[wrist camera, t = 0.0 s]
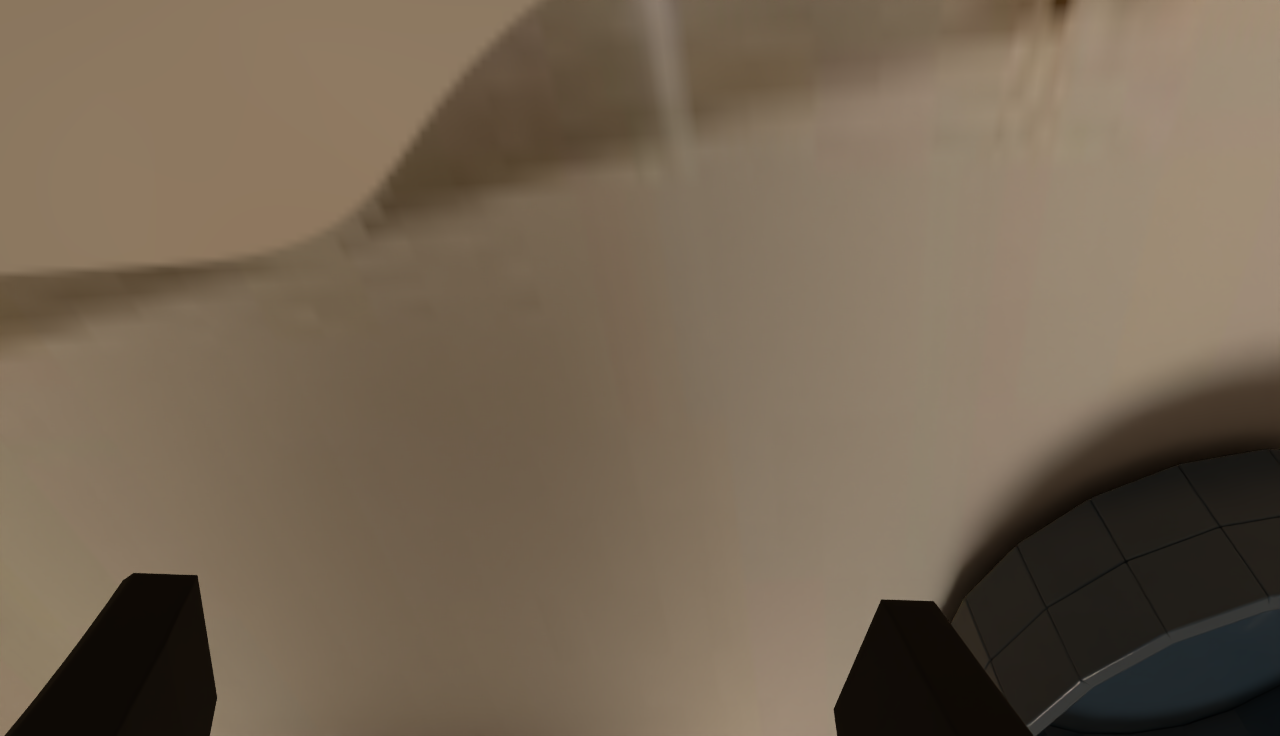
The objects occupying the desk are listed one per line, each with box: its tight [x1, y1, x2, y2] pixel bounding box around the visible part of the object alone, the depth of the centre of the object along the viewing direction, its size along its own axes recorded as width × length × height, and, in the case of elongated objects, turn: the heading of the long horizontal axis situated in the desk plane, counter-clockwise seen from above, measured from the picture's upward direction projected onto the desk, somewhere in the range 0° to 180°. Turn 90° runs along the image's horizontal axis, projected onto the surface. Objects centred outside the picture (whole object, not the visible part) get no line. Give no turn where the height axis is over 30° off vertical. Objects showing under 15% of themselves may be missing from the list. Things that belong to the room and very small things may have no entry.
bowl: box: [951, 449, 1280, 736], centre depth 27 cm, size 13×13×4 cm
